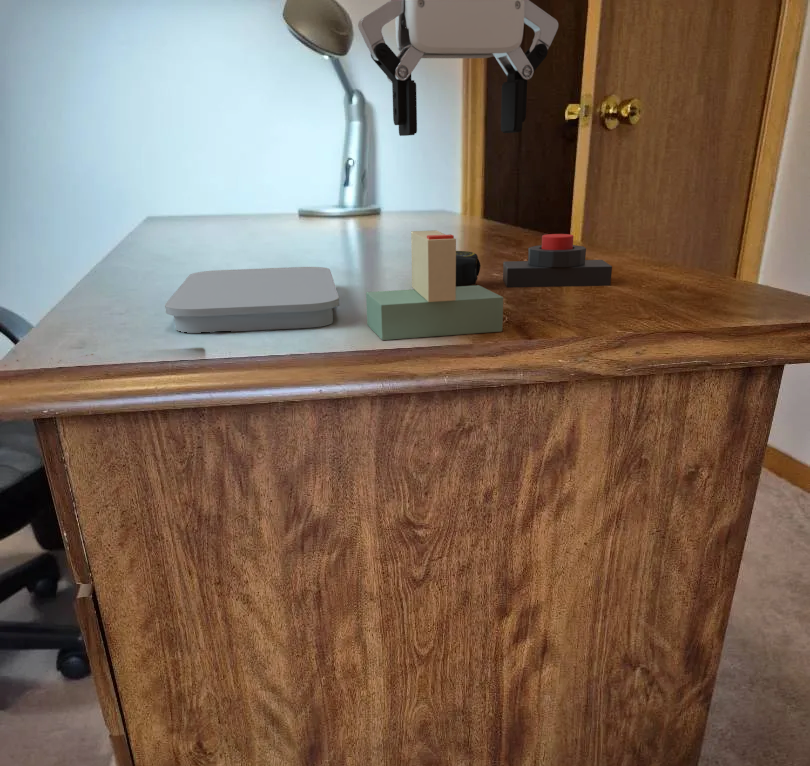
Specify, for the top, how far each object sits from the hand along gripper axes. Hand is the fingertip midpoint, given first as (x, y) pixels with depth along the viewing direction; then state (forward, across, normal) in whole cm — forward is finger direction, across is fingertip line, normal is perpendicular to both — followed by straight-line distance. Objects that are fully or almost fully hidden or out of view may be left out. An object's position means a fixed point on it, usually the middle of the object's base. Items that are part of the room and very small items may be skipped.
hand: (460, 133), depth 69 cm
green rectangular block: (+16, +4, +3) cm, 17 cm away
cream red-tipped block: (+13, +4, +3) cm, 14 cm away
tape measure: (+16, -6, -18) cm, 25 cm away
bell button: (+12, -18, -16) cm, 27 cm away
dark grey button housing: (+16, -18, -16) cm, 29 cm away
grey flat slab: (+16, +17, -14) cm, 28 cm away
